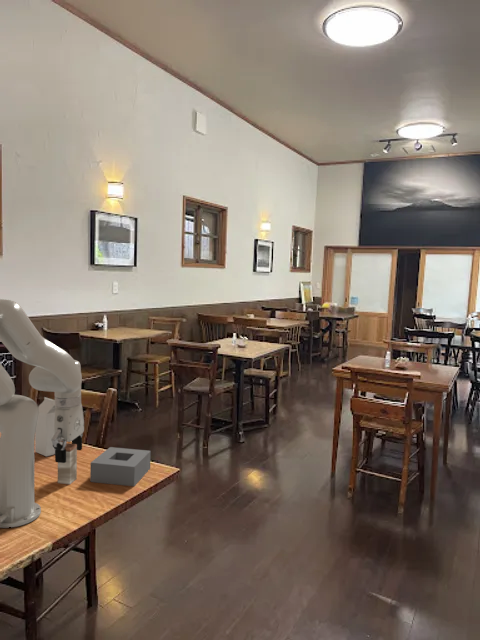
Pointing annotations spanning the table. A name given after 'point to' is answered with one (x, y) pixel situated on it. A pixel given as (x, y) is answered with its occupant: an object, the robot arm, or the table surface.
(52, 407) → the milk carton
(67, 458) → the peg
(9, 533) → the table surface
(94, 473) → the socket block
